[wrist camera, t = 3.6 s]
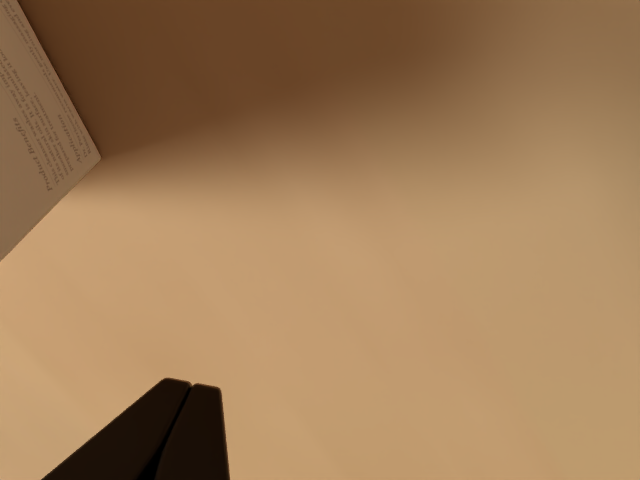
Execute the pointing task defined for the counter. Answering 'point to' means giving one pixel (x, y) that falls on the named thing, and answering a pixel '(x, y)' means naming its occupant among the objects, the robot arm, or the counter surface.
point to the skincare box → (34, 132)
